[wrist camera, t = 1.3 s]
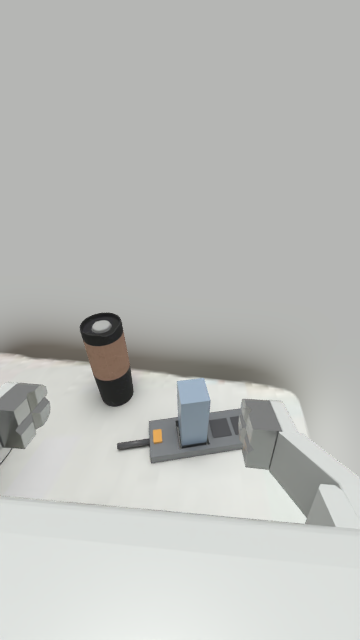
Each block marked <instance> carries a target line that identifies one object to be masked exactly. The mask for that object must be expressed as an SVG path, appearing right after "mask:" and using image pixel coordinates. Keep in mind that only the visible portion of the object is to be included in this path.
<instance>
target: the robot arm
mask: <svg viewBox="0 0 360 640" xmlns="http://www.w3.org/2000/svg"><path fill="white" fill-rule="evenodd" d="M46 395H47V389H46V386H44V385H38V384H27V383H14V382H7V383H4V384H3V385H2V386H0V463H1V462H2V461H3V459H4V458H5V457H6V456H7V454H8V453H9V452H10V450H11V448H18V449H25V448H26V447H27V445H28V444H29V443H30V442H31V440H32V439H33V438H34V436H35V435H36V429H38V428H39V427H41V426H43V425H44V423H45V422H46V421H47V419H48V416H49V414H50V402H49V401H48V400H47V399H46V398H45V396H46ZM241 410H242V414H241V415H239V422H238V430H239V438H240V441H241V442H242V443H243V449H242V453H243V457H244V462H245V467H249V468H258V469H266V470H269V471H270V473H271V474H272V475H273V476H274V478H275V479H276V480H277V481H278V483H279V484H280V485H281V486H282V488H283V489H284V490H285V491H286V493H287V494H288V495H289V496H290V498H291V499H292V500H293V501H294V503H295V504H296V505H297V506H298V508H299V509H300V510H301V511H302V513H303V514H304V515H305V516H306V518H307V520H306V522H305V524H300V523H289V522H279V521H268V520H257V519H246V518H236V517H225V516H214V515H204V514H193V513H182V512H171V511H161V510H150V509H139V508H128V507H117V506H107V505H96V504H85V503H74V502H63V501H53V500H42V499H32V498H21V497H10V496H0V640H360V477H358V476H357V475H356V474H355V473H353V472H352V471H351V470H349V469H348V468H347V467H345V466H344V465H343V464H341V463H340V462H339V461H338V460H336V459H335V458H334V457H333V456H331V455H330V454H329V453H327V452H326V451H325V450H323V449H322V448H321V447H319V446H318V445H317V444H316V443H314V442H313V441H312V440H310V439H309V438H308V437H307V436H305V435H304V434H302V433H298V431H297V429H296V427H295V425H294V423H293V421H292V419H291V417H290V415H289V413H288V411H287V409H286V407H285V405H284V403H283V402H282V401H279V400H255V399H242V402H241Z"/></svg>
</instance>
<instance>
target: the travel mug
mask: <svg viewBox="0 0 360 640" xmlns="http://www.w3.org/2000/svg"><path fill="white" fill-rule="evenodd" d="M80 331H81V334H82V338H83V342H84V345H85V348H86V352H87V355H88V358H89V362H90V365H91V368H92V372H93V375H94V377H95V380H96V383H97V386H98V388H99V391H100V394H101V397H102V399H103V401H104V402H105V403H106V404H107V405H109V406H120V405H123V404H125V403H126V402H128V401H129V400H130V399H131V397H132V395H133V384H132V377H131V369H130V363H129V358H128V352H127V348H126V342H125V337H124V333H123V327H122V322H121V319H120V317H119V316H118V315H115V314H113V313H99V314H95V315H92V316H90V317H88V318H86V319H85V320H84V321H83V322H82V323H81V325H80Z"/></svg>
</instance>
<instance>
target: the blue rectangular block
mask: <svg viewBox="0 0 360 640" xmlns="http://www.w3.org/2000/svg"><path fill="white" fill-rule="evenodd" d="M177 398H178V429H179V436H180V443H181V449H183V448H189V447H196V446H202V445H206V443H207V432H208V421H209V411H210V397H209V394H208V391H207V387H206V384H205V381H204V378H200V379H192V380H184V381H177Z"/></svg>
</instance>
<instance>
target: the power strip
mask: <svg viewBox="0 0 360 640" xmlns="http://www.w3.org/2000/svg"><path fill="white" fill-rule="evenodd" d="M241 414H242V410H241V408H240V409H233V410H226V411H219V412H211V413H209V421H208V432H207V443H208V445H202V446H196V447H189V448H183V449H179V443H178V436H177V429H176V426H178V417H175V418H168V419H161V420H154V421H149V435H150V439H143V440H136V441H129V442H122V443H118V444H117V449H123V448H129V447H136V446H143V445H149V444H150V458H151V463H156V462H162V461H168V460H175V459H181V458H187V457H193V456H200V455H206V454H212V453H218V452H225V451H231V450H237V449H243V443H242V442H241V441H240V438H239V430H238V422H239V415H241Z"/></svg>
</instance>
